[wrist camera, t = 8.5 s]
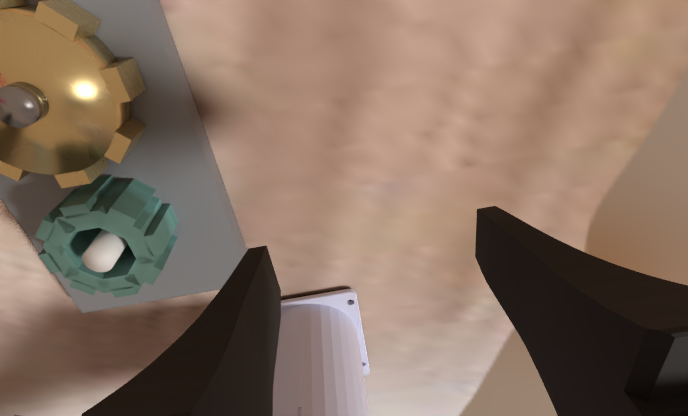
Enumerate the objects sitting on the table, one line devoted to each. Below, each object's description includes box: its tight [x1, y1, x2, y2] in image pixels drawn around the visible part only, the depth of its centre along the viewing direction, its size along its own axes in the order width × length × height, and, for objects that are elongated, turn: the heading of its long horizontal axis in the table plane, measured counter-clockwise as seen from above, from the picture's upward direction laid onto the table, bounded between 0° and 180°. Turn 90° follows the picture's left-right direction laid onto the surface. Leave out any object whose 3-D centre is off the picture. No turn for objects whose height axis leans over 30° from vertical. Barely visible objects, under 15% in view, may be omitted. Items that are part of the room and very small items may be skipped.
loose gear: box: [35, 175, 179, 298], centre depth 21 cm, size 6×6×3 cm
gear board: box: [0, 0, 247, 313], centre depth 20 cm, size 18×11×5 cm, turn 9°
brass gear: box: [0, 0, 147, 188], centre depth 17 cm, size 8×8×3 cm
